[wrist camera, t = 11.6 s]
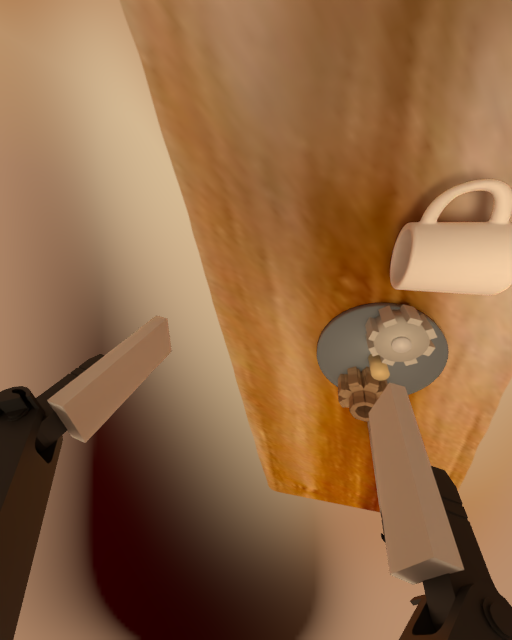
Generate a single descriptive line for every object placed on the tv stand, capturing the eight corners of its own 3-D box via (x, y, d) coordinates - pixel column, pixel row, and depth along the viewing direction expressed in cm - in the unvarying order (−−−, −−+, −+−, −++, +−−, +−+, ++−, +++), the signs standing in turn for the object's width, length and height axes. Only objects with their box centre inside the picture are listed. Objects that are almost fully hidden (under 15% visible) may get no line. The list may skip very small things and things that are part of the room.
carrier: (339, 285, 36) (340, 301, 31) (478, 318, 33) (504, 343, 28) (305, 373, 47) (302, 396, 42) (405, 405, 44) (414, 433, 39)
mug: (466, 280, 31) (502, 307, 24) (385, 276, 33) (398, 299, 27) (515, 176, 25) (580, 175, 18) (411, 181, 27) (435, 182, 21)
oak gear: (347, 360, 41) (349, 387, 36) (395, 374, 40) (404, 405, 34) (332, 390, 46) (331, 417, 40) (374, 403, 44) (380, 434, 39)
